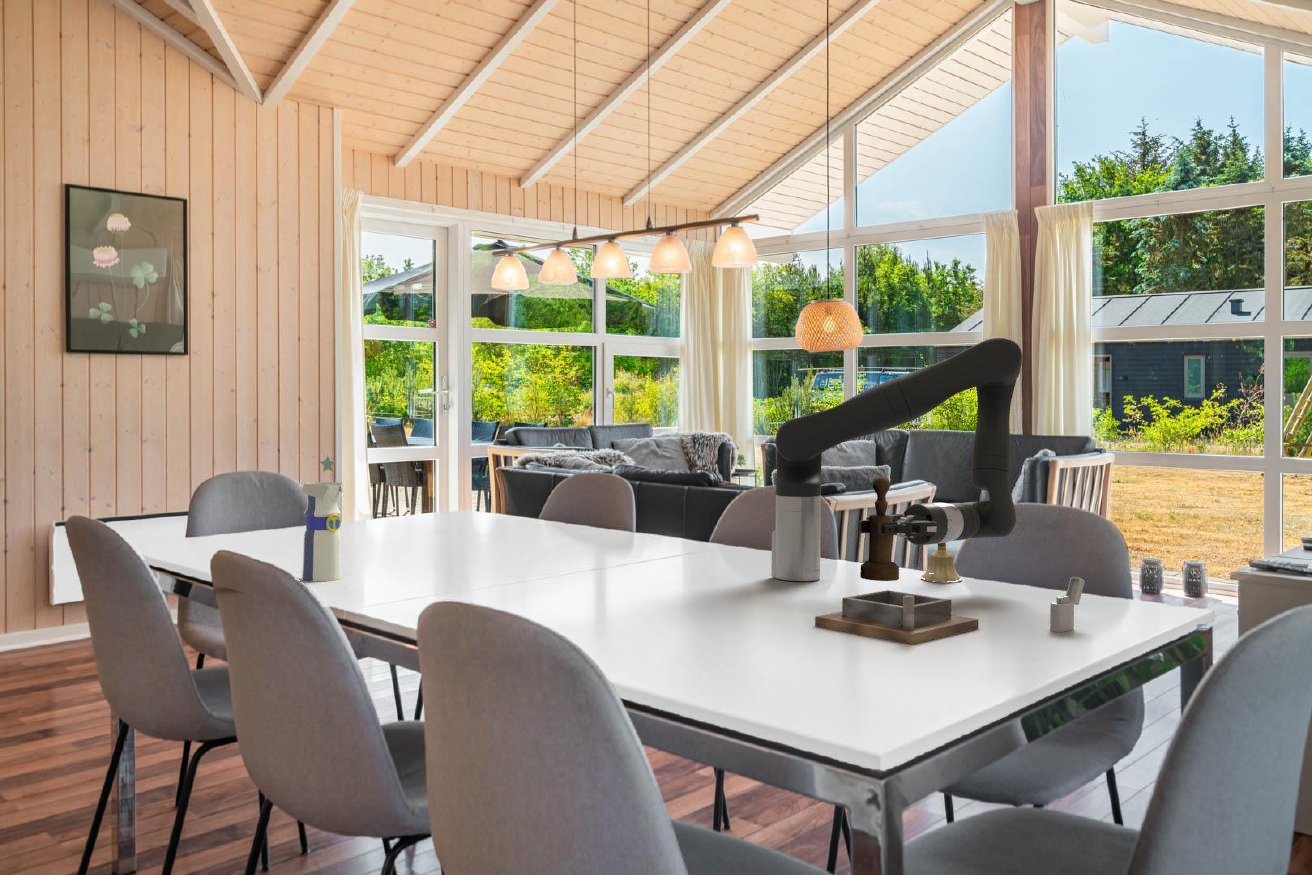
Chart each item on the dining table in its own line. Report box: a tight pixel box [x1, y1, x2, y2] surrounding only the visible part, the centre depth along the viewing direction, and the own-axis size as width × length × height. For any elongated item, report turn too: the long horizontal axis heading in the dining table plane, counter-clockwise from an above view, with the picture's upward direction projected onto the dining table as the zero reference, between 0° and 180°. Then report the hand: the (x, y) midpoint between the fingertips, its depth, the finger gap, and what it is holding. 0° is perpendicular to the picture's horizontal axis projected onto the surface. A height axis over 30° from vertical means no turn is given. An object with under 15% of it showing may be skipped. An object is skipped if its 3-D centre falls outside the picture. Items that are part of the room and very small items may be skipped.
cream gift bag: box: [301, 455, 344, 582], centre depth 211 cm, size 8×9×25 cm
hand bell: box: [921, 542, 962, 582], centre depth 215 cm, size 8×8×16 cm
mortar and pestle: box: [859, 475, 900, 582], centre depth 183 cm, size 7×6×18 cm
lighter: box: [1049, 576, 1086, 633], centre depth 164 cm, size 7×2×8 cm, turn 128°
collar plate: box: [814, 590, 979, 645], centre depth 164 cm, size 18×18×6 cm
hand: (870, 528), depth 182 cm, fingers closed on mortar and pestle, 4 cm apart
